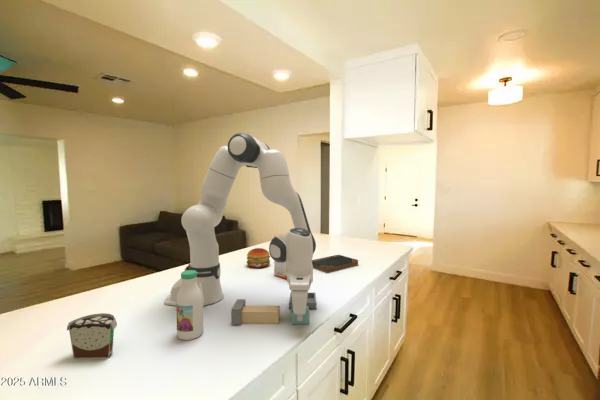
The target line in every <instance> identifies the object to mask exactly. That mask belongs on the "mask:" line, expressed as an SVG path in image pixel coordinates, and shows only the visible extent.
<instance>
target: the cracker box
mask: <svg viewBox="0 0 600 400" xmlns="http://www.w3.org/2000/svg"><path fill="white" fill-rule="evenodd" d="M280 235H284V234H276V235H273V238H274V237H277V236H280ZM273 261H274V263H273V264H274V266H273V267H274V268H273V270H274V271H273V273H274V274H273V275H274V277H277V278H282V279H284V280H287V266H288V264H287V263H286V262H283V263H280V262H276V261H275V260H273Z"/></svg>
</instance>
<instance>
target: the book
mask: <svg viewBox="0 0 600 400" xmlns="http://www.w3.org/2000/svg"><path fill="white" fill-rule="evenodd" d="M312 265H313V270H314V269H315V270H317V271H320V272H322V273H325V274H329V273H333V272H338V271H341V270H346V269H350V268H354V267H358V266H359V260H358V259H356V258H352V257H348V256H345V255H341V254H334V255H331V256H325V257H321V258H316V259H312Z"/></svg>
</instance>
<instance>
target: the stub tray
mask: <svg viewBox="0 0 600 400" xmlns="http://www.w3.org/2000/svg"><path fill="white" fill-rule="evenodd" d="M291 306H293V305H292V294H291V292H290V293H289V301H288V309H289V310H291ZM306 306H308V308H309V310H317V295H316V292H309V291H308V295H307V304H306Z"/></svg>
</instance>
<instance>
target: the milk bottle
mask: <svg viewBox="0 0 600 400" xmlns="http://www.w3.org/2000/svg"><path fill="white" fill-rule="evenodd" d="M180 277H181V278H180V279H181V280H182V285H181V288H180V290H179V292H178V295H177V301H176V309H175V310H176V313H175V314H176V337H177V338H178V339H179V340H182V341H191V340H195V339H197V338H199V337H200V336H202V334H203V333H204V306H203V301H202V293H201V291H200V289H199V287H198V285H197V282H196V279H197V271H195V270H187V271H185V270H183V271H181V273H180Z"/></svg>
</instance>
